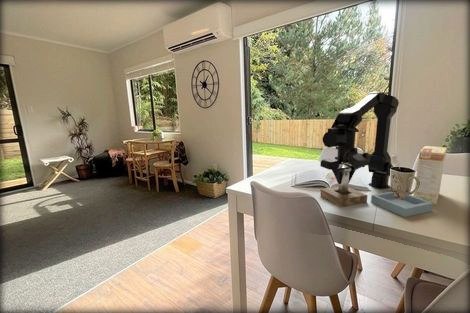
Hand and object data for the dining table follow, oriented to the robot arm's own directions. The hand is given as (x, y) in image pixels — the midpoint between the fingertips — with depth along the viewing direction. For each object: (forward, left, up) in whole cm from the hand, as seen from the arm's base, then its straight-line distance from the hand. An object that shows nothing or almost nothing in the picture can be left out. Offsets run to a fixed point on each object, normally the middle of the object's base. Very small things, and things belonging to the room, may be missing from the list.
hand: (343, 183), depth 90 cm
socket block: (0, 0, -7) cm, 7 cm away
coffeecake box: (-32, +10, -7) cm, 34 cm away
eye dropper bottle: (-46, -16, -7) cm, 49 cm away
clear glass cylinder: (0, 0, -4) cm, 4 cm away
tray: (-14, +13, -7) cm, 20 cm away
